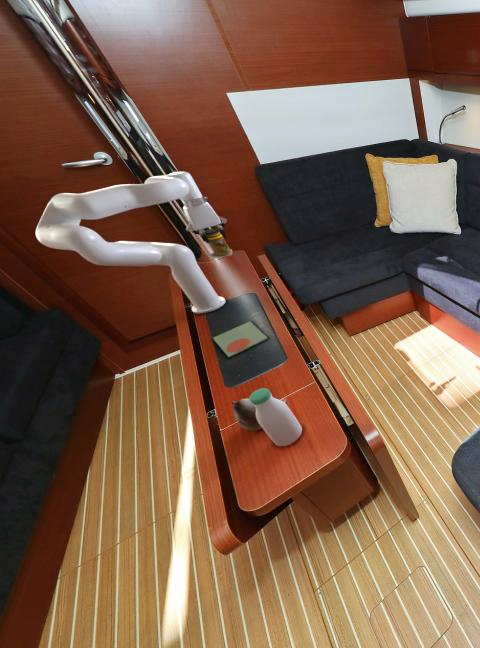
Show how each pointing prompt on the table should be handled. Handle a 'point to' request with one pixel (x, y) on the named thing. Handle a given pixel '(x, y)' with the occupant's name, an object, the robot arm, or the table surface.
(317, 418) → the table surface
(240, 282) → the table surface
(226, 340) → the placemat
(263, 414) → the milk bottle
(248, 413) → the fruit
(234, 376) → the table surface
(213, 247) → the condiment
